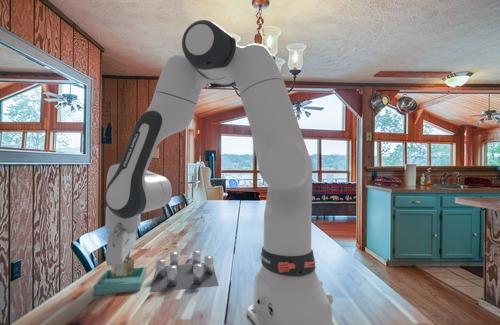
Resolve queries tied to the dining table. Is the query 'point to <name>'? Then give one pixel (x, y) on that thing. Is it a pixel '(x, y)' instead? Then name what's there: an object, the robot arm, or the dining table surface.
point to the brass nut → (127, 269)
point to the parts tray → (120, 282)
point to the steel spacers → (174, 266)
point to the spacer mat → (183, 279)
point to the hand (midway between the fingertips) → (122, 269)
